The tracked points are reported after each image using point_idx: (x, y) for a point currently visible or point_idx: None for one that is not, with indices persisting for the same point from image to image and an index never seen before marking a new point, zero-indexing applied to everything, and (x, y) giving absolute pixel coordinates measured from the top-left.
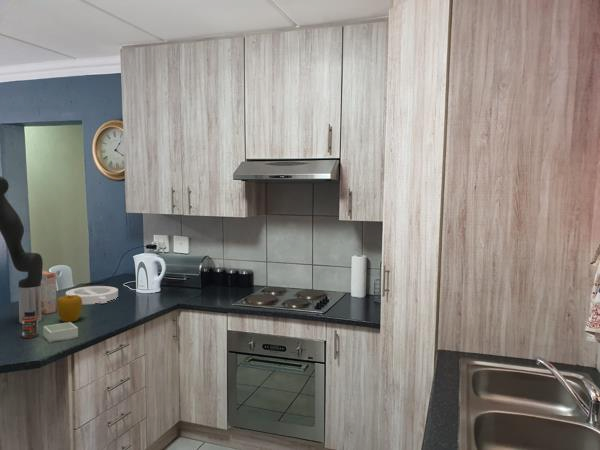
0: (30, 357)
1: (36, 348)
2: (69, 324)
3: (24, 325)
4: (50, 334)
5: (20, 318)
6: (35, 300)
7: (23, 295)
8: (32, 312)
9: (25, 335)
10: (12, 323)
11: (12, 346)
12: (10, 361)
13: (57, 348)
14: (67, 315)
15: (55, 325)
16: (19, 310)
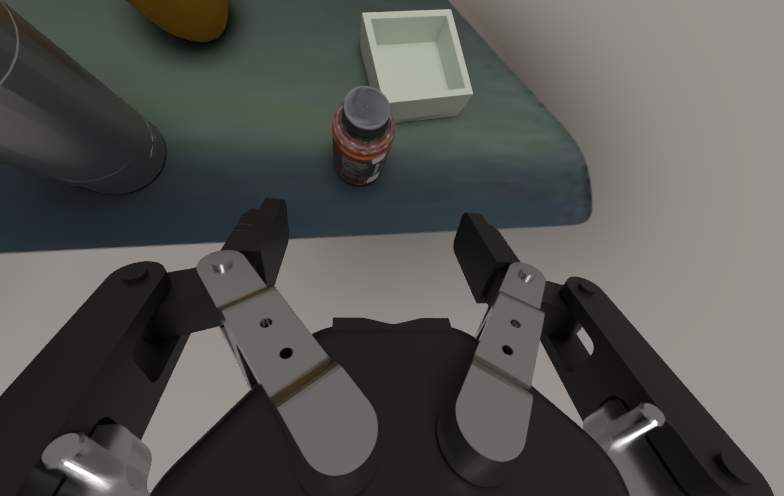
0: (559, 169)
1: (492, 152)
2: (372, 24)
3: (383, 159)
4: (468, 96)
5: (121, 182)
6: (66, 57)
7: (8, 95)
8: (386, 100)
9: (380, 172)
10: (117, 221)
11: (449, 212)
12: (573, 214)
13: (512, 103)
14: (224, 3)
15: (381, 66)
16: (75, 171)
